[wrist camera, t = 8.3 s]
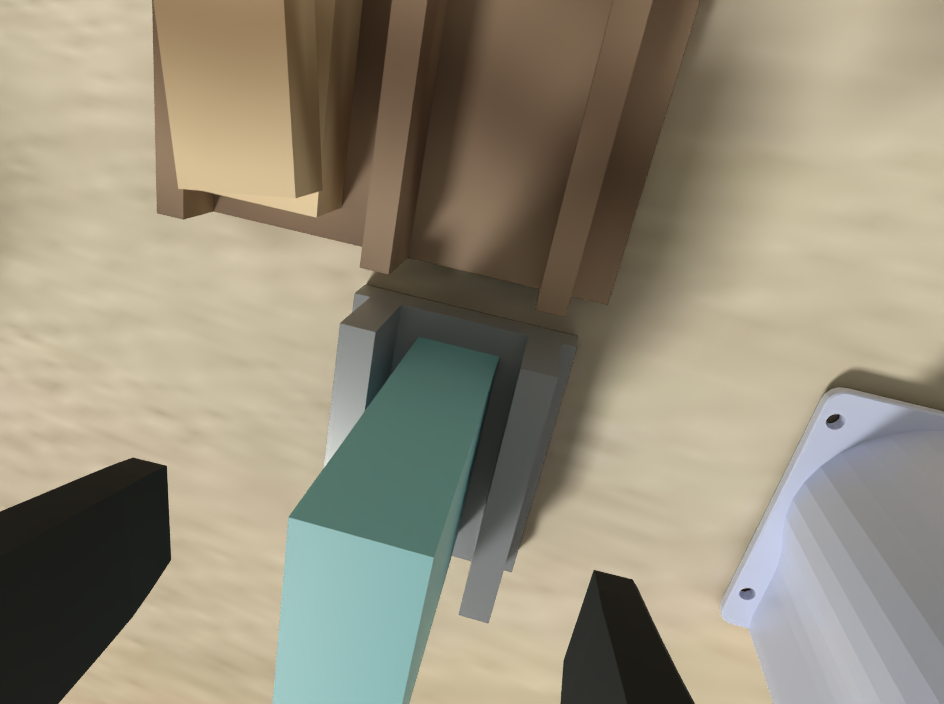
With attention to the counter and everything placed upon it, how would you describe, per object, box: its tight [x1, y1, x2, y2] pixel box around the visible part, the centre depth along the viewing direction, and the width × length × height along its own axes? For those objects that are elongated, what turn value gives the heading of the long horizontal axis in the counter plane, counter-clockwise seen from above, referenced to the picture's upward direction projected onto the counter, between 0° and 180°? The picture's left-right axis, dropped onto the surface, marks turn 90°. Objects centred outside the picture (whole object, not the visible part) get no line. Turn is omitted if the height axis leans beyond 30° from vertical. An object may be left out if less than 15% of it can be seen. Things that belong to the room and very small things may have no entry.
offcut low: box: [205, 0, 363, 218], centre depth 15 cm, size 7×4×2 cm, turn 169°
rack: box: [152, 0, 700, 317], centre depth 15 cm, size 9×13×3 cm
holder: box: [324, 285, 577, 623], centre depth 19 cm, size 9×7×4 cm
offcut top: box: [153, 0, 323, 198], centre depth 14 cm, size 6×3×2 cm, turn 177°
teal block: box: [273, 337, 499, 704], centre depth 16 cm, size 7×3×9 cm, turn 168°
